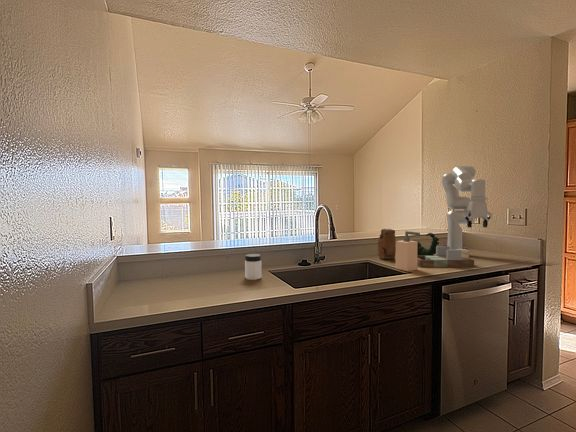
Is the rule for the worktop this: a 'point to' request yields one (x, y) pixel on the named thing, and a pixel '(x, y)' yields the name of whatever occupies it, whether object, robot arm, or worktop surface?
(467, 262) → the walnut deck
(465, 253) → the birch cube
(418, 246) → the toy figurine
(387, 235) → the block
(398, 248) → the soap dispenser
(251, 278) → the jar
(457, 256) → the tunnel walls
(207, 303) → the worktop surface
